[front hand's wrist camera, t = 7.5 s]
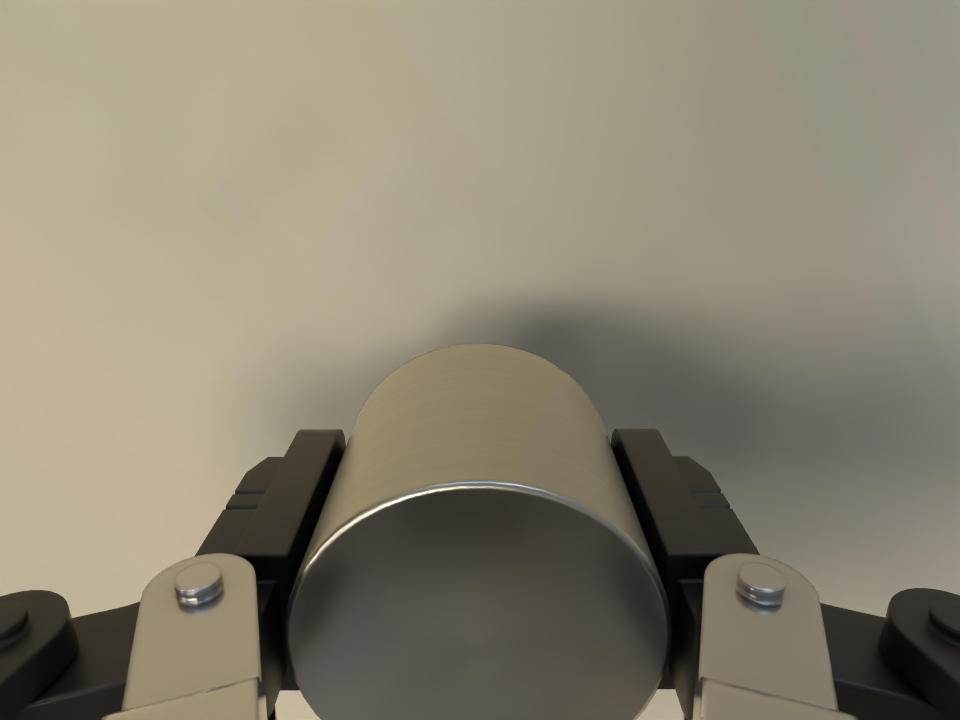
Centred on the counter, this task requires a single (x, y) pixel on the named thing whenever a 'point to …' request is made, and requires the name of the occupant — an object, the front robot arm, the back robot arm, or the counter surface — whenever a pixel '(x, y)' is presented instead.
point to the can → (478, 556)
